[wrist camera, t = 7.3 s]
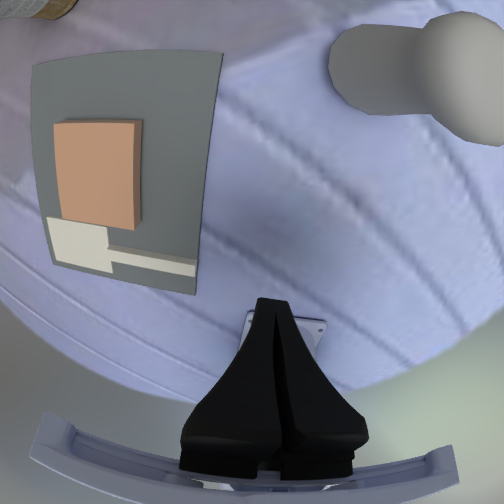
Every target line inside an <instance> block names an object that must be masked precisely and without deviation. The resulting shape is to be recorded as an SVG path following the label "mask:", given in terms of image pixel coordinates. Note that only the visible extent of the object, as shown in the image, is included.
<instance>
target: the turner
mask: <svg viewBox="0 0 504 504" xmlns="http://www.w3.org/2000/svg"><path fill="white" fill-rule="evenodd" d="M47 222H48V227H49V232H50V236H51V241H52V245H53V249H54V253H55V257H56V260H58V261H62V262H66V263H70V264H74V265H78V266H83V267H87V268H91V269H95V270H100V271H104V272H109V273H113V272H114V267H113V261H114V262H118V263H123V264H128V265H133V266H138V267H143V268H148V269H154V270H159V271H164V272H169V273H175V274H180V275H186V276H191V277H195V274H196V270H197V260H195V259H190V258H184V257H178V256H173V255H167V254H161V253H156V252H150V251H145V250H139V249H134V248H129V247H123V246H118V245H113V244H110V238H109V229H108V226H104V225H98V224H92V223H86V222H80V221H74V220H68V219H63V218H61V217H55V216H49V215H48V216H47Z"/></svg>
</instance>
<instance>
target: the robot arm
mask: <svg viewBox="0 0 504 504" xmlns="http://www.w3.org/2000/svg"><path fill="white" fill-rule="evenodd" d="M326 328H327V323H326V322H324V321H317V320H309V319H300V318H294V317H293V314H292V312H291V309H290V306H289V303H288V302H287V301H282V300H275V299H269V298H262V297H260V298H258V299H257V303H256V307H255V311H254V312H249V313H247V316H246V320H245V325H244V329H243V333H242V337H241V341H240V346H239V350H238V353H237V355H236V356H235V358H234V359H233V361H232V363H231V364H230V365H229V367H228V368H227V370H226V371H225V373H224V374H223V375H222V377H221V378H220V379H219V381H218V382H217V383H216V384H215V385H214V387H213V388H212V389H211V390H210V391H209V393H208V394H207V395H206V396H205V397H204V398H203V399H202V400H201V401H200V402H199V403H198V404H197V405H196V407H195V409H194V410H193V412H192V413H191V415H190V416H189V418H188V419H187V421H186V423H185V425H184V427H183V429H182V434H181V440H180V443H181V449H182V451H181V456H180V460H177V459H172V458H167V457H163V456H159V455H155V454H151V453H147V452H144V451H140V450H136V449H133V448H130V447H126V446H122V445H120V444H116V443H114V442H111V441H108V440H105V439H102V438H99V437H97V436H94V435H91V434H89V433H86V432H84V431H81V430H79V429H77V428H76V427H75V426H74V425H73V424H72V423H71V422H69V421H68V420H66V419H63V418H61V417H59V416H57V415H55V414H53V413H51V412H48V411H45V412H44V414H43V417H42V420H41V422H40V425H39V427H38V430H37V433H36V435H35V438H34V441H33V444H32V447H31V450H30V453H29V457H30V458H31V459H33V460H35V461H36V462H38V463H40V464H42V465H43V466H45V467H47V468H49V469H51V470H53V471H55V472H57V473H59V474H61V475H63V476H65V477H67V478H69V479H71V480H74V481H76V482H78V483H80V484H83V485H85V486H87V487H90V488H92V489H95V490H97V491H100V492H103V493H105V494H108V495H111V496H114V497H117V498H120V499H123V500H126V501H129V502H133V503H136V504H405V503H408V502H412V501H415V500H418V499H421V498H424V497H427V496H430V495H432V494H435V493H438V492H441V491H443V490H446V489H448V488H450V487H453V486H455V485H457V484H459V477H458V471H457V466H456V461H455V457H454V452H453V447H452V445H447V446H444V447H441V448H437V449H435V450H432V451H431V452H428V453H427V454H426V455H423V456H419V457H415V458H411V459H406V460H402V461H396V462H391V463H386V464H380V465H373V466H366V467H358V468H352V460H353V459H354V457H355V455H354V451H355V450H356V449H358V448H360V447H361V446H363V445H364V444H365V443H366V442H367V441H368V439H369V435H368V429H367V425H366V421H365V418H364V417H363V416H361V415H360V414H359V413H358V412H357V411H356V410H355V409H354V408H353V407H352V406H350V405H349V403H347V401H346V400H345V399H344V398H343V397H342V396H341V395H340V394H339V393H338V391H337V390H336V389H335V388H334V386H333V385H332V384H331V383H330V382H329V380H328V379H327V378H326V376H325V375H324V373H323V372H322V371H321V369H320V368H319V366H318V365H317V363H316V354H315V348H316V347H317V345H318V343H319V341H320V339H321V337H322V336H323V334H324V332H325V330H326ZM188 478H190V479H188ZM192 479H196V480H203V481H209V482H217V483H219V490H216V489H206V488H203V483H202V482H200V481H196V480H192ZM339 484H340V485H339Z"/></svg>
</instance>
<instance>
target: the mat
mask: <svg viewBox="0 0 504 504" xmlns="http://www.w3.org/2000/svg"><path fill="white" fill-rule="evenodd" d="M222 59H223V53H216V52H203V51H183V50H143V51H124V52H111V53H101V54H93V55H85V56H78V57H72V58H66V59H61V60H56V61H51V62H46V63H42V64H37V65H33V66H32V77H31V139H32V153H33V163H34V172H35V180H36V187H37V194H38V200H39V206H40V211H41V216H42V221H43V226H44V231H45V235H46V239H47V243H48V247H49V251H50V255H51V259H52V262H53V264H54V265H58V266H61V267H65V268H69V269H73V270H77V271H81V272H86V273H90V274H94V275H98V276H102V277H107V278H111V279H116V280H120V281H125V282H129V283H134V284H138V285H143V286H148V287H153V288H158V289H163V290H168V291H173V292H178V293H183V294H189V295H194V296H195V294H196V282H197V270H196V274H195V277H191V276H186V275H180V274H175V273H169V272H164V271H159V270H154V269H148V268H143V267H138V266H133V265H128V264H123V263H118V262H114V261H113V267H114V272H113V273H109V272H104V271H100V270H95V269H91V268H87V267H83V266H78V265H74V264H70V263H66V262H62V261H58V260H56V257H55V253H54V249H53V245H52V241H51V236H50V232H49V227H48V222H47V216H48V215H49V216H55V217H61V218H62V212H61V206H60V199H59V191H58V183H57V174H56V163H55V148H54V123H57V122H60V121H62V120H79V119H120V120H142V133H141V158H140V215H141V222H140V224H139V225H138V226H137V228H136V229H135V231H134V230H128V229H122V228H116V227H110V226H108V229H109V238H110V244H113V245H118V246H123V247H129V248H134V249H139V250H145V251H150V252H156V253H161V254H167V255H173V256H178V257H184V258H190V259H195V260H197V267H198V253H199V240H200V228H201V217H202V207H203V197H204V187H205V178H206V169H207V161H208V152H209V144H210V137H211V129H212V122H213V115H214V108H215V102H216V95H217V89H218V83H219V76H220V71H221V65H222Z"/></svg>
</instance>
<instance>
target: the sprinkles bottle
mask: <svg viewBox="0 0 504 504" xmlns="http://www.w3.org/2000/svg"><path fill="white" fill-rule="evenodd" d="M76 1H77V0H0V19H2V18H44V19H47V20H53V19H57V18H58V17H61V16H62V15H64V14H65V13H67V12H68V11H69V10H70V9H71V8H72V7H73V5H74V4H75V2H76Z"/></svg>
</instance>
